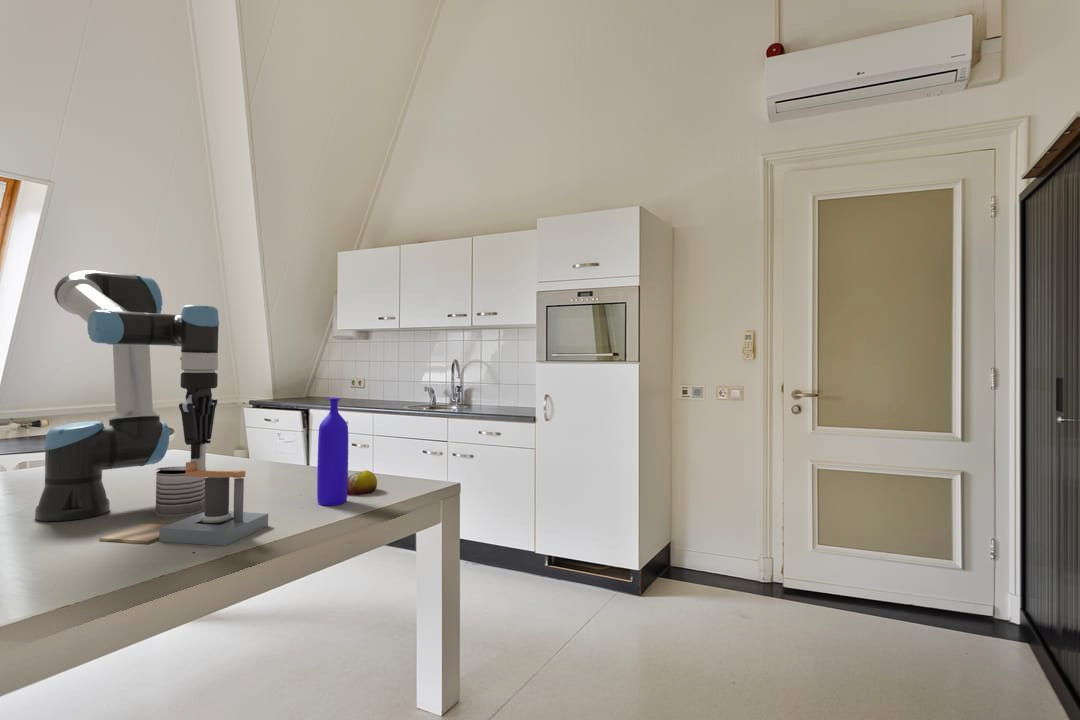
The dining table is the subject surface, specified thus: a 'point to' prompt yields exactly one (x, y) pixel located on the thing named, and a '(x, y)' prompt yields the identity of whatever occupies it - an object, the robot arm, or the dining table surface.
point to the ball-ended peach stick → (210, 472)
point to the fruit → (361, 483)
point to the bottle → (332, 458)
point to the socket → (210, 534)
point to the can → (178, 492)
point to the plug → (216, 501)
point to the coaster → (136, 534)
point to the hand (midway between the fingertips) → (197, 471)
